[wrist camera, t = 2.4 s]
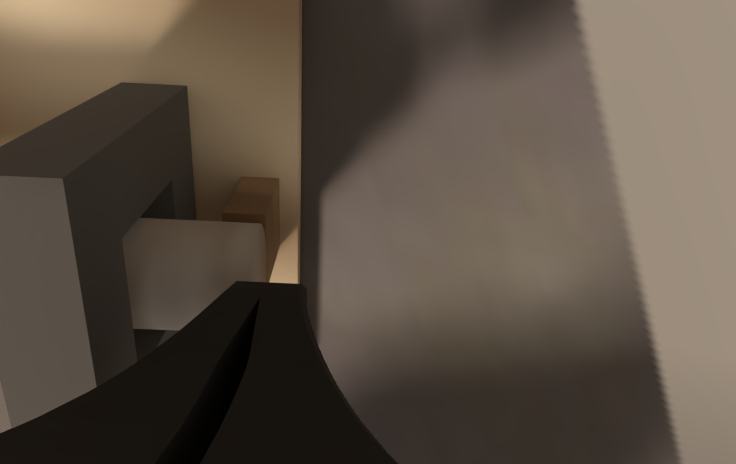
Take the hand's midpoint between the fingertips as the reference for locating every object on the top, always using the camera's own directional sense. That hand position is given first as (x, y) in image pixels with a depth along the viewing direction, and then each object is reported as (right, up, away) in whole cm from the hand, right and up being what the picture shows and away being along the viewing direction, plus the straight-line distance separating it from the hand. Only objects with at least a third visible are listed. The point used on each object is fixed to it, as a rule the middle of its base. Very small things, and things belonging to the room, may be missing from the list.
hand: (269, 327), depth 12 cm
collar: (-3, +2, +5) cm, 6 cm away
